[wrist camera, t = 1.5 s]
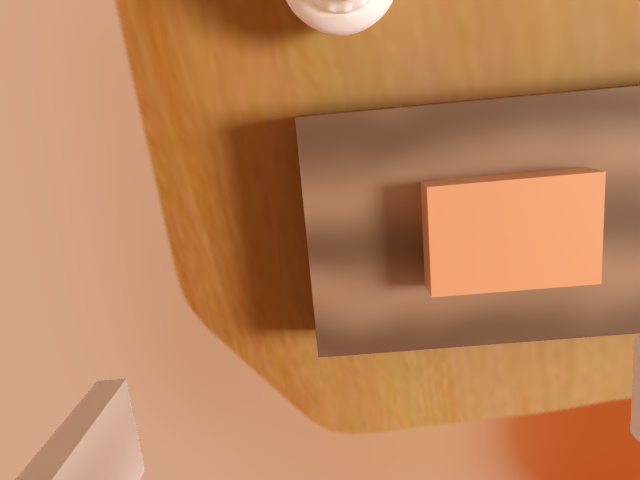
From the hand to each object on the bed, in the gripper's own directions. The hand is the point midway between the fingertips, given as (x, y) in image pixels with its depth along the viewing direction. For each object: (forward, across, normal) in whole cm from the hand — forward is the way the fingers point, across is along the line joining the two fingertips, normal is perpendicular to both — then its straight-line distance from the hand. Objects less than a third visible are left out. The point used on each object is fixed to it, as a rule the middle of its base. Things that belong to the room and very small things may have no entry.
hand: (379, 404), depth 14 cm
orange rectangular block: (+17, +8, 0) cm, 19 cm away
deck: (+21, +10, 0) cm, 23 cm away
